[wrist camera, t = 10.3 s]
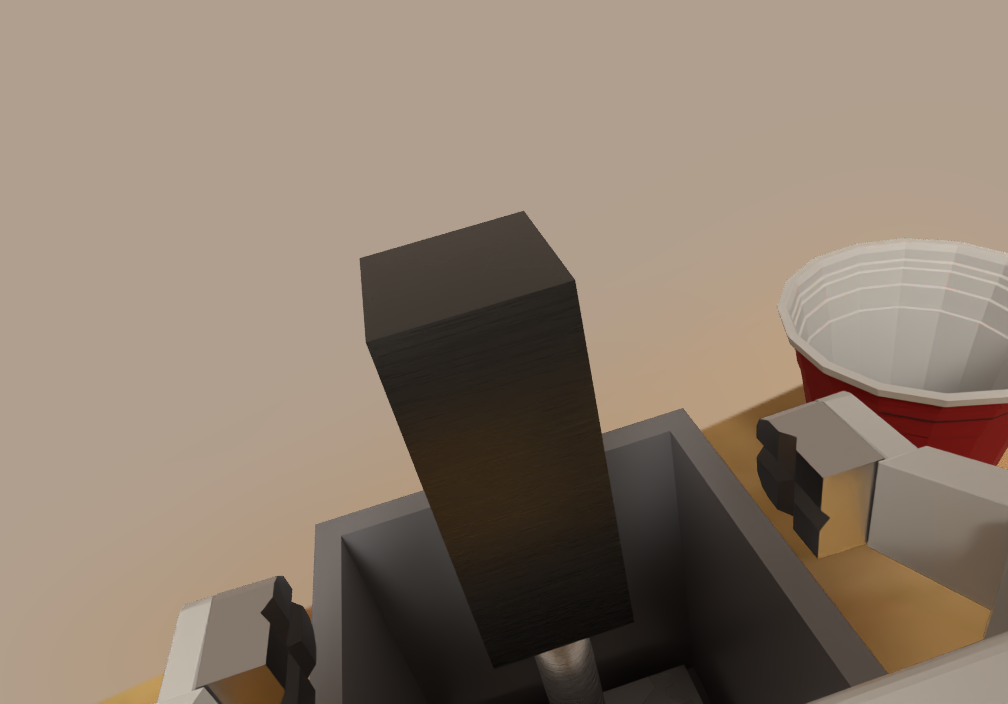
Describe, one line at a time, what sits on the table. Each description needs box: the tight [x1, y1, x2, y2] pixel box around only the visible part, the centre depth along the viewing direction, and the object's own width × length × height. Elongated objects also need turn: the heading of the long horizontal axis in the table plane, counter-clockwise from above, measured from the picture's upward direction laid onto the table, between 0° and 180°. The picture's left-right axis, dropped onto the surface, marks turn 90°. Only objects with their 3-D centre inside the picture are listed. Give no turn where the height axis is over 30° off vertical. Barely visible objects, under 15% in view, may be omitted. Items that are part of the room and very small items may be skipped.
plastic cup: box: [777, 238, 1008, 466], centre depth 29 cm, size 11×11×12 cm
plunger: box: [360, 211, 703, 704], centre depth 16 cm, size 9×9×22 cm
